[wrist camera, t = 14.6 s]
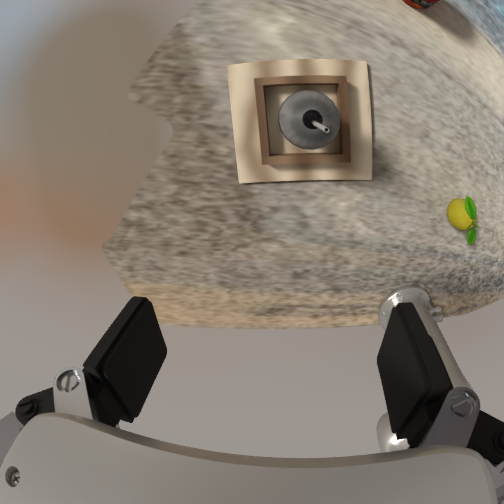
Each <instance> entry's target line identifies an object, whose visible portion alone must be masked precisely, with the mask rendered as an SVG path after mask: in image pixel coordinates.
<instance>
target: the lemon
mask: <svg viewBox="0 0 504 504" xmlns="http://www.w3.org/2000/svg"><path fill="white" fill-rule="evenodd" d="M447 217H448V220H449V222H450V223H451V224H452V225H453V226H454V227H455V228H457V229H459V230H464V231H467V230H470V229H471V228H473V226H474V225H475V226H476V228H477V227H478V228H479V226H478V225H476V224H475V223H476V220H477V215H476V207H475V204H474V202H473V200H472V199H471V198H470V197H469V196H468V195H467V197H466V200H464V199H459V198H458V199H454V200H453V201H451V202H450V204H449V206H448V208H447ZM476 228H474V229H472V230H470V231H469V232H468V233H467V236H466V237H467V242H468V244H473V243H474V242H475V239H476Z"/></svg>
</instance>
